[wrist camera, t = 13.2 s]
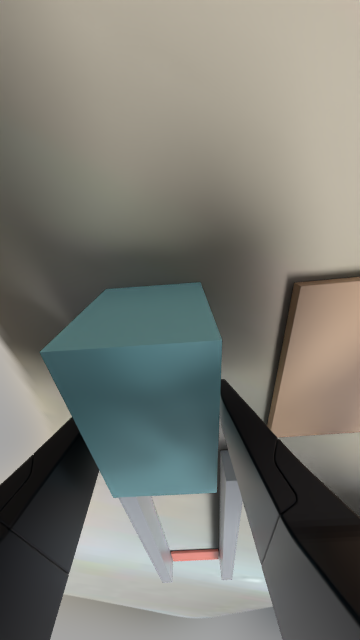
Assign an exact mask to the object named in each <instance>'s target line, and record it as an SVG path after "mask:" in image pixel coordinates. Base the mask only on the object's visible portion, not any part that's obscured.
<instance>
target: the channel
mask: <svg viewBox="0 0 360 640" xmlns="http://www.w3.org/2000/svg"><path fill="white" fill-rule="evenodd" d="M118 498H119V500H120V502H121V504H122V506H123V507H124V509H125V511H126V513H127V515H128V517H129V519H130V521H131V523H132V525H133V527H134V529H135V531H136V532H137V534H138V536H139V538H140V540H141V542H142V544H143V546H144V548H145V550H146V552H147V554H148V555H149V557H150V559H151V561H152V563H153V565H154V567H155V569H156V571H157V573H158V575H159V577H160V579H161V580H162V582H163V583H165V582H172V577H173V561H191V560H212V559H219V561H220V569H221V577H222V580H232V575H233V568H234V560H235V553H236V546H237V538H238V531H239V523H240V516H241V509H242V501H243V500H242V497H241V493H240V490H239V486H238V483H237V479H236V476H235V472H234V469H233V465H232V462H231V458H230V455H229V451H228V450H222V451H220V520H219V551H218V549H208V550H187V551H171V552H170V549H169V547H168V544H167V541H166V538H165V535H164V532H163V529H162V526H161V523H160V521H159V518H158V515H157V512H156V509H155V506H154V503H153V500H152V497H151V496H138V497H118Z"/></svg>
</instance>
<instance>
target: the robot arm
mask: <svg viewBox="0 0 360 640" xmlns="http://www.w3.org/2000/svg"><path fill="white" fill-rule="evenodd" d="M219 415H220V420H221V426H222V430H223V434H224V437H225V441H226V444H227V448H228V451H229V455H230V458H231V462H232V465H233V469H234V472H235V476H236V479H237V483H238V486H239V490H240V493H241V497H242V500H243V503H244V507H245V510H246V514H247V517H248V521H249V524H250V528H251V531H252V535H253V538H254V542H255V545H256V549H257V552H258V556H259V559H260V563H261V565H262V570H263V573H264V577H265V580H266V584H267V587H268V591H269V594H270V597H271V601H272V604H273V608H274V611H275V615H276V618H277V622H278V625H279V629H280V632H281V635H282V639H283V640H360V517H359V516H357V515H356V514H355V513H354V512H353V511H352V510H351V509H350V508H349V507H348V506H347V505H346V504H344V503H343V502H342V501H341V500H340V499H339V498H338V497H337V496H336V495H335V494H334V493H333V492H332V491H331V490H330V489H328V488H327V487H326V486H325V485H324V484H323V483H322V482H321V481H320V480H319V479H318V478H317V477H316V476H315V475H313V474H312V473H311V472H310V471H309V470H308V469H307V468H306V467H305V466H304V465H303V464H302V463H301V462H300V461H299V460H298V459H297V458H296V457H295V456H294V455H293V454H292V453H291V452H290V451H289V449H288V448H287V447H286V446H285V445H284V444H283V443H282V442H281V441H280V440H279V439H278V438H277V436H276V435H275V434H274V433H273V432H272V431H271V430H270V429H269V428H268V426H267V425H266V424H265V423H264V422H263V421H262V420H261V419H260V418H259V417H258V415H257V414H256V413H255V412H254V411H253V410H252V409H251V408H250V407H249V405H248V404H247V403H246V402H245V401H244V400H243V399H242V398H241V397H240V396H239V394H238V393H237V392H236V391H235V390H234V389H233V388H232V387H231V386H230V385H229V383H228V382H227V381H226V380H225V379H221V387H220V414H219ZM98 473H99V468H98V466H97V464H96V463H95V461H94V459H93V457H92V455H91V453H90V451H89V449H88V447H87V445H86V443H85V441H84V439H83V437H82V435H81V433H80V431H79V429H78V427H77V425H76V423H75V421H74V419H73V417H71V418H70V419H69V420H68V421H67V422H66V423H65V424H64V425H63V426H62V427H61V428H60V429H59V430H58V431H57V432H56V433H55V434H54V435H53V436H52V437H51V438H50V439H48V440H47V441H46V442H45V443H44V444H43V445H42V446H41V447H40V448H39V449H38V450H37V451H36V452H35V453H34V455H32V456H31V457H30V458H29V459H28V460H27V461H25V462H24V463H23V464H22V465H21V466H20V467H19V468H18V469H17V470H16V471H15V472H14V473H13V474H12V475H11V476H9V477H8V478H7V479H6V480H5V481H4V482H3V483H1V484H0V640H50V638H51V634H52V631H53V627H54V624H55V620H56V617H57V614H58V610H59V606H60V603H61V600H62V597H63V593H64V590H65V586H66V583H67V579H68V576H69V575H68V574H69V572H70V569H71V565H72V562H73V558H74V555H75V552H76V548H77V545H78V541H79V538H80V534H81V531H82V528H83V524H84V521H85V517H86V514H87V511H88V507H89V504H90V500H91V497H92V493H93V490H94V487H95V483H96V480H97V476H98Z"/></svg>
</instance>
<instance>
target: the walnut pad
mask: <svg viewBox="0 0 360 640" xmlns="http://www.w3.org/2000/svg"><path fill="white" fill-rule="evenodd" d="M267 426H268V428H269V429H270V430H271V431H272V432H273V433H274V434H275V435H276V436H277V438H278V437H293V436H308V435H323V434H339V433H354V432H360V277H352V278H341V279H330V280H319V281H307V282H296V283H294V287H293V292H292V297H291V302H290V308H289V313H288V318H287V324H286V329H285V334H284V339H283V345H282V350H281V355H280V360H279V366H278V371H277V376H276V381H275V387H274V392H273V397H272V403H271V408H270V413H269V418H268V424H267Z"/></svg>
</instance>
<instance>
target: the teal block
mask: <svg viewBox="0 0 360 640" xmlns="http://www.w3.org/2000/svg"><path fill="white" fill-rule="evenodd" d="M40 354H41V356H42V358H43V360H44V362H45V364H46V366H47V368H48V370H49V372H50V374H51V376H52V378H53V380H54V382H55V384H56V386H57V388H58V390H59V392H60V394H61V396H62V398H63V400H64V402H65V404H66V405H67V407H68V409H69V411H70V413H71V415H72V417H73V419H74V421H75V423H76V425H77V427H78V429H79V431H80V433H81V435H82V437H83V439H84V441H85V443H86V445H87V447H88V449H89V451H90V453H91V455H92V457H93V459H94V461H95V463H96V464H97V466H98V468H99V470H100V472H101V474H102V476H103V478H104V480H105V482H106V484H107V486H108V488H109V490H110V492H111V494H112V496H113V498H118V497H138V496H159V495H179V494H199V493H217V468H218V441H219V414H220V387H221V360H222V338H221V335H220V333H219V330H218V328H217V325H216V322H215V320H214V317H213V314H212V312H211V309H210V306H209V304H208V301H207V298H206V296H205V293H204V291H203V288H202V285H201V283H200V282H196V283H182V284H169V285H155V286H141V287H127V288H114V289H105V290H104V291H103V292H102V293H101V294H100V295H99V296H98V297H97V298H96V299H95V300H94V301H93V302H92V303H91V304H90V305H89V306H88V307H86V308H85V309H84V310H83V311H82V312H81V313H80V314H79V315H78V316H77V317H76V318H75V319H74V320H73V321H72V322H71V323H70V324H69V325H68V326H67V327H65V328H64V329H63V330H62V331H61V332H60V333H59V334H58V335H57V336H56V337H55V338H54V339H53V340H52V341H51V342H50V343H49V344H48V345H47V346H45V347H44V348H43V349H42V350H41V351H40Z"/></svg>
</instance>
